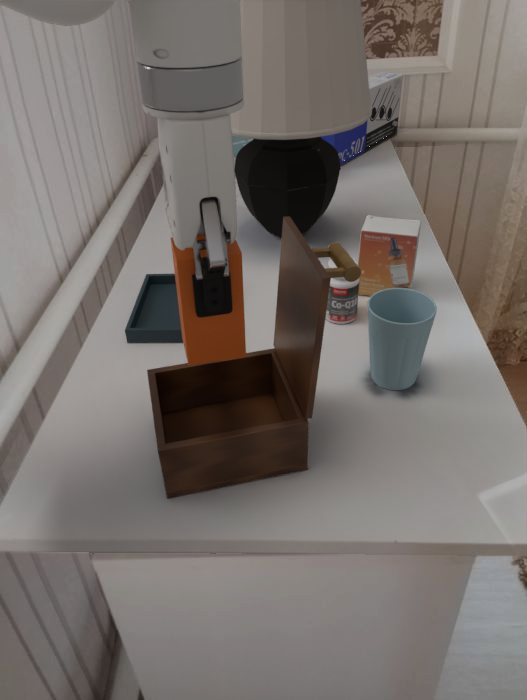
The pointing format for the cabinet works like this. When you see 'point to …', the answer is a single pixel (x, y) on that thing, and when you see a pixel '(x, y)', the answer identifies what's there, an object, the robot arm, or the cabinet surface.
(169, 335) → the tray
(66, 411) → the cabinet surface
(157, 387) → the chest
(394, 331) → the cup
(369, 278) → the small box
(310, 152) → the table lamp
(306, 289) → the lid
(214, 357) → the block
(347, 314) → the pill bottle
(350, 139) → the ink box
